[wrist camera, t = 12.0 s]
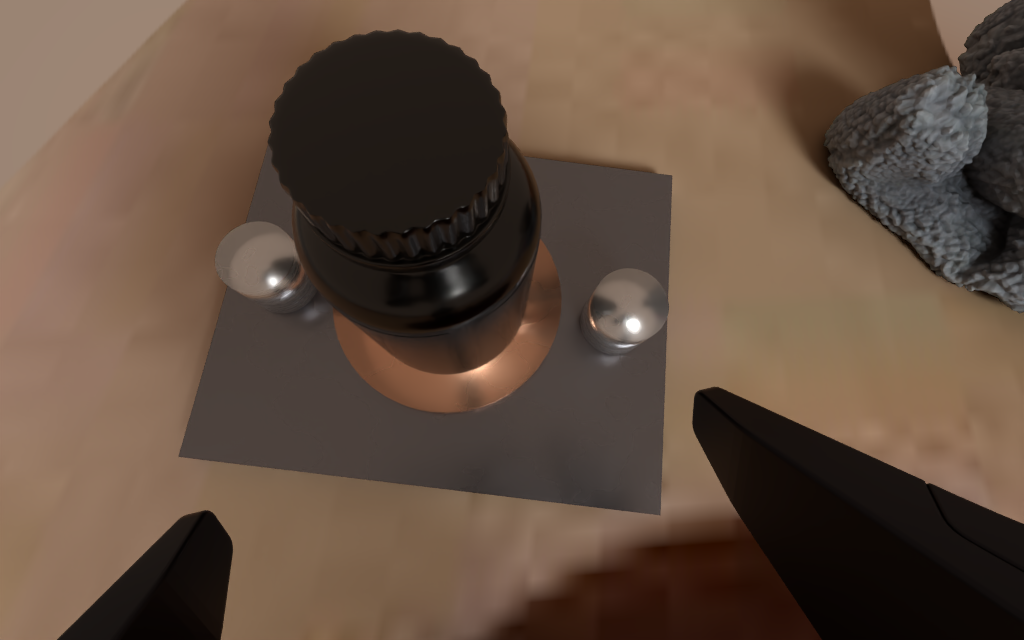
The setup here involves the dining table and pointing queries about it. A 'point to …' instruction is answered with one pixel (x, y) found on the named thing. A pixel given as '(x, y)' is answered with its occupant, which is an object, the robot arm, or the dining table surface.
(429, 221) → the supplement bottle
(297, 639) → the dining table surface
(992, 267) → the koala plush
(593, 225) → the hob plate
